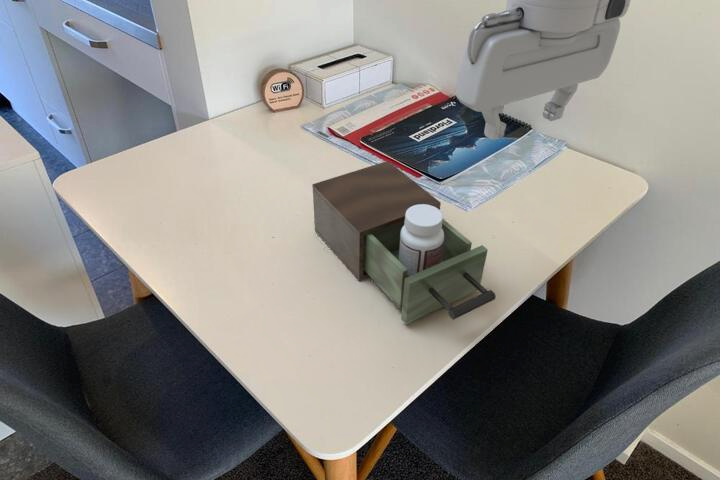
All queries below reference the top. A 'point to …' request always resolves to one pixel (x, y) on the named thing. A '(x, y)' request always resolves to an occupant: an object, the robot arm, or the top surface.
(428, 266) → the pill bottle
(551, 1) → the robot arm
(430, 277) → the drawer
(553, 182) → the top surface
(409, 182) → the cabinet
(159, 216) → the top surface
